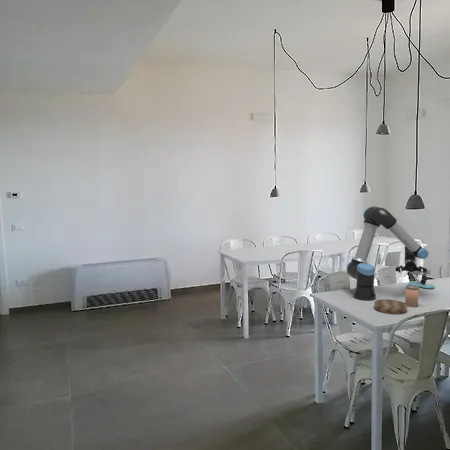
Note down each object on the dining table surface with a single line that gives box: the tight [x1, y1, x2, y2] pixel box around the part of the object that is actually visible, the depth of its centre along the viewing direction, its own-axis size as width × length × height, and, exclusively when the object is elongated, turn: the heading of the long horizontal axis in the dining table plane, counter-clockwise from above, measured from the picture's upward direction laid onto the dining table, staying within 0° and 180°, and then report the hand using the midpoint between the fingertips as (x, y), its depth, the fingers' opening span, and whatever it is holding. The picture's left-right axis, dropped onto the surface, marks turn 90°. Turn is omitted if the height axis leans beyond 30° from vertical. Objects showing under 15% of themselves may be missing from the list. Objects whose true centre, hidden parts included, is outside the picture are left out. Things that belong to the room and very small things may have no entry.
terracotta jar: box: [404, 284, 420, 308], centre depth 320 cm, size 8×8×13 cm
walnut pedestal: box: [373, 298, 408, 315], centre depth 310 cm, size 20×20×4 cm
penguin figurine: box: [407, 269, 436, 289], centre depth 372 cm, size 20×11×15 cm, turn 43°
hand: (411, 272), depth 327 cm, fingers open, 13 cm apart
